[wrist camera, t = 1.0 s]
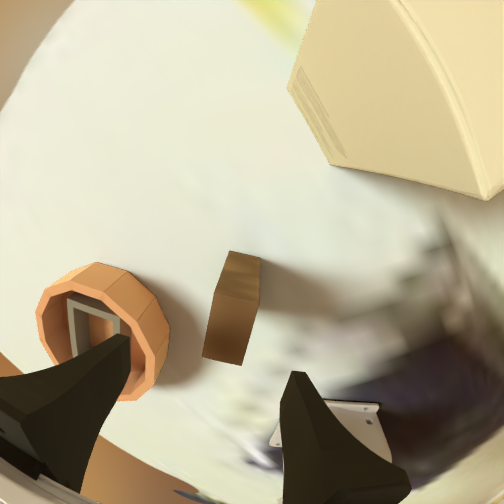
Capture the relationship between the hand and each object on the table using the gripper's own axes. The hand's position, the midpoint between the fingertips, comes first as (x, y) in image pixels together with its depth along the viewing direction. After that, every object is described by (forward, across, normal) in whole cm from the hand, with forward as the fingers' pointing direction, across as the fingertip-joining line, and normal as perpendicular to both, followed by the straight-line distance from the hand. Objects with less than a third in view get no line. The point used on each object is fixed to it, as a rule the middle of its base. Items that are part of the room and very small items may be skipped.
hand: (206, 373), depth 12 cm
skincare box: (+10, -6, -14) cm, 19 cm away
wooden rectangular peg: (+10, -1, 0) cm, 10 cm away
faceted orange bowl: (+10, +10, +6) cm, 15 cm away
